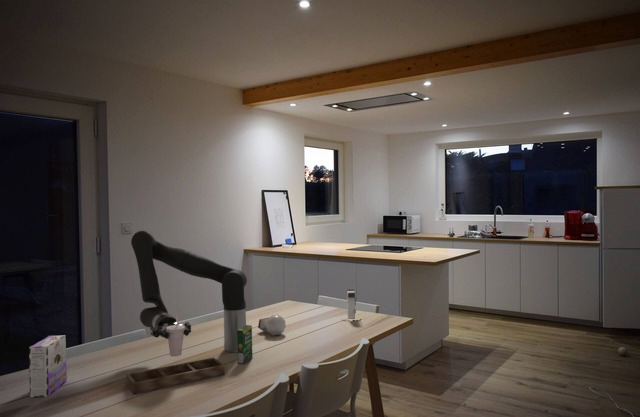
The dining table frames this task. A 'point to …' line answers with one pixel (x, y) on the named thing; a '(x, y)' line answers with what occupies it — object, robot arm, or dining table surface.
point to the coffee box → (244, 344)
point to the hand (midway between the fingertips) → (177, 334)
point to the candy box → (47, 365)
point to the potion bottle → (272, 324)
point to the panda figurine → (351, 303)
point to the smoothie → (175, 338)
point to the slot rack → (174, 375)
